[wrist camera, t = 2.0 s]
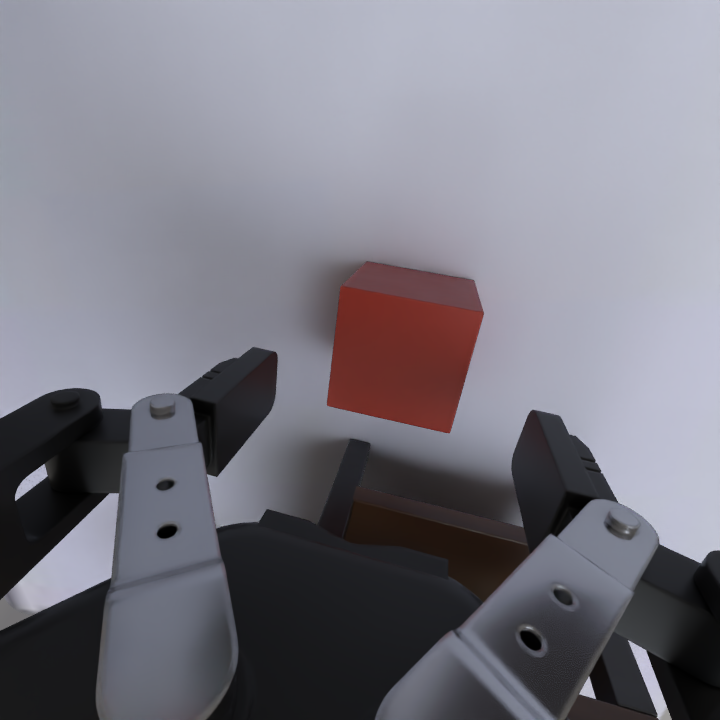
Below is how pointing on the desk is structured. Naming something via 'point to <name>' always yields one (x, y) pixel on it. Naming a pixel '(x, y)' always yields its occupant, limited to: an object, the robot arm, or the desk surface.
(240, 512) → the desk surface
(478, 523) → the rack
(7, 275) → the desk surface
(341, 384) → the block
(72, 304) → the desk surface
